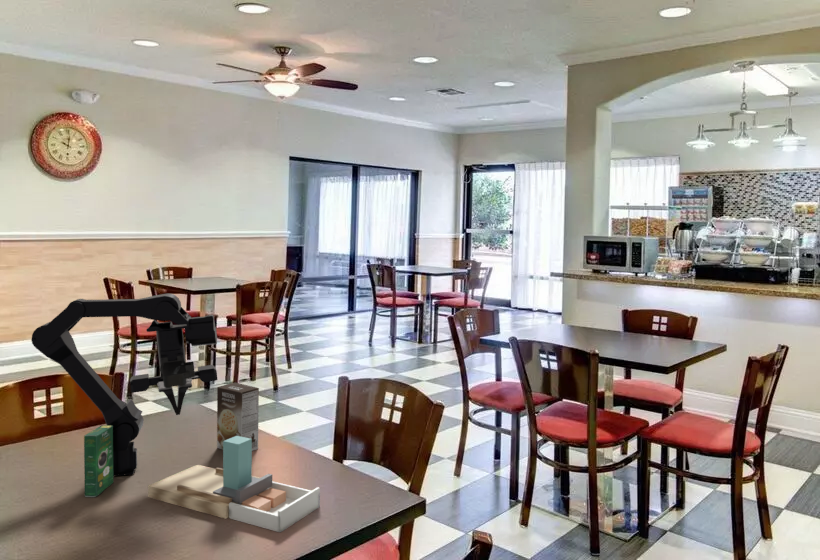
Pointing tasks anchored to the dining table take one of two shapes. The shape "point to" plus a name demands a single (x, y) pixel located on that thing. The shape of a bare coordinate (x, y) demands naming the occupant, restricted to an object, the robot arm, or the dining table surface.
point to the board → (194, 490)
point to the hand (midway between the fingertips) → (178, 414)
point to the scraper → (240, 471)
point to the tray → (279, 509)
